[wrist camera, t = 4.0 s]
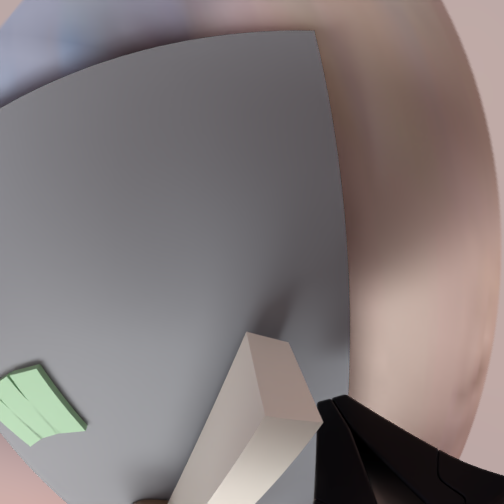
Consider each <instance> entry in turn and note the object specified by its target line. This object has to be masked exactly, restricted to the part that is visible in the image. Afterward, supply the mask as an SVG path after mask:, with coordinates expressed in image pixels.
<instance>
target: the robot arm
mask: <svg viewBox="0 0 504 504" xmlns="http://www.w3.org/2000/svg"><path fill="white" fill-rule="evenodd" d="M317 409H318V411H319V414H320V416H321V418H322V420H323V424H322V425H321V426H320V428H319V429H318V430H317V432H316V462H315V482H314V501H313V504H504V476H503V475H500V474H496V473H493V472H490V471H487V470H484V469H481V468H478V467H476V466H473V465H470V464H468V463H465V462H463V461H460V460H459V459H457V458H455V457H452V456H450V455H448V454H447V453H445V452H443V451H441V450H438V449H437V448H435V447H433V446H432V445H430V444H428V443H426V442H424V441H423V440H421V439H419V438H417V437H416V436H414V435H412V434H410V433H409V432H407V431H405V430H403V429H402V428H400V427H398V426H397V425H395V424H393V423H391V422H390V421H388V420H386V419H385V418H383V417H382V416H380V415H378V414H377V413H375V412H373V411H372V410H370V409H368V408H367V407H365V406H364V405H362V404H360V403H359V402H357V401H356V400H354V399H353V398H351V397H349V396H348V395H345V394H343V395H340V396H336V397H333V398H332V399H326V400H322V401H319V402H317Z"/></svg>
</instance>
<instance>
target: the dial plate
mask: <svg viewBox="0 0 504 504" xmlns="http://www.w3.org/2000/svg"><path fill="white" fill-rule="evenodd" d="M246 332H250V333H253V334H257V335H261V336H265V337H269V338H273V339H277V340H281V341H285V342H289V345H290V347H291V349H292V351H293V354H294V356H295V358H296V361H297V363H298V365H299V368H300V370H301V372H302V374H303V377H304V379H305V381H306V384H307V386H308V388H309V391H310V393H311V395H312V398H313V400H314V402H315V404H316V407H317V402H319V401H322V400H326V399H332V398H333V397H336V396H340V395H343V394H345V395H348V389H349V361H350V303H349V273H348V254H347V239H346V225H345V214H344V203H343V193H342V184H341V175H340V167H339V160H338V152H337V145H336V138H335V132H334V125H333V119H332V113H331V107H330V102H329V96H328V91H327V86H326V81H325V76H324V71H323V66H322V62H321V57H320V53H319V48H318V44H317V40H316V36H315V32H314V31H264V32H249V33H238V34H228V35H220V36H213V37H206V38H199V39H193V40H188V41H182V42H177V43H172V44H168V45H163V46H159V47H154V48H150V49H146V50H142V51H139V52H135V53H131V54H128V55H124V56H121V57H118V58H114V59H111V60H108V61H105V62H102V63H99V64H96V65H93V66H91V67H88V68H85V69H82V70H80V71H77V72H75V73H72V74H70V75H67V76H65V77H62V78H60V79H58V80H55V81H53V82H51V83H49V84H46V85H44V86H42V87H40V88H38V89H36V90H34V91H32V92H30V93H28V94H26V95H24V96H22V97H20V98H18V99H16V100H14V101H12V102H11V103H9V104H7V105H5V106H3V107H2V108H0V433H1V434H2V435H3V437H4V438H5V439H6V440H7V442H8V443H9V444H10V445H11V446H12V448H13V449H14V450H15V451H16V452H17V454H18V455H19V456H20V457H21V458H22V459H23V460H24V461H25V463H26V464H27V465H28V466H29V467H30V468H31V469H32V470H33V471H34V472H35V473H36V474H37V475H38V476H39V477H40V478H41V479H42V480H43V481H44V482H45V483H46V484H47V485H48V486H49V487H50V488H51V489H52V490H53V491H54V492H55V493H56V494H57V495H58V496H60V497H61V498H62V499H63V500H64V501H65V502H66V503H67V504H133V503H135V502H137V501H141V500H169V499H170V497H171V495H172V493H173V491H174V489H175V487H176V485H177V483H178V481H179V479H180V477H181V475H182V473H183V470H184V468H185V466H186V464H187V462H188V460H189V458H190V456H191V454H192V451H193V449H194V447H195V445H196V443H197V441H198V439H199V436H200V434H201V432H202V430H203V428H204V426H205V423H206V421H207V419H208V417H209V415H210V412H211V410H212V408H213V406H214V404H215V401H216V399H217V397H218V395H219V392H220V390H221V388H222V386H223V384H224V381H225V379H226V377H227V375H228V372H229V370H230V368H231V366H232V363H233V361H234V359H235V356H236V354H237V352H238V350H239V347H240V345H241V343H242V340H243V338H244V336H245V333H246ZM315 462H316V433H315V434H314V436H313V437H312V438H311V440H310V441H309V442H308V443H307V445H306V446H305V447H304V448H303V450H302V451H301V452H300V453H299V455H298V456H297V457H296V458H295V460H294V461H293V462H292V463H291V464H290V466H289V467H288V468H287V469H286V470H285V471H284V473H283V474H282V475H281V476H280V477H279V478H278V479H277V481H276V482H275V483H274V484H273V485H272V486H271V487H270V488H269V489H268V491H267V492H266V493H265V494H264V495H263V496H262V497H261V498H260V499H259V500H258V501H257V502H256V503H255V504H313V501H314V482H315Z"/></svg>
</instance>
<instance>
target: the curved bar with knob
mask: <svg viewBox="0 0 504 504" xmlns="http://www.w3.org/2000/svg"><path fill="white" fill-rule="evenodd" d="M322 424H323V420H322V418H321V416H320V414H319V411H318V409H317V407H316V404H315V402H314V400H313V398H312V395H311V393H310V391H309V388H308V386H307V384H306V381H305V379H304V377H303V374H302V372H301V370H300V368H299V365H298V363H297V361H296V358H295V356H294V354H293V351H292V349H291V347H290V345H289V342H285V341H281V340H277V339H273V338H269V337H265V336H261V335H257V334H253V333H250V332H246V333H245V336H244V338H243V340H242V343H241V345H240V347H239V350H238V352H237V354H236V356H235V359H234V361H233V363H232V366H231V368H230V370H229V372H228V375H227V377H226V379H225V381H224V384H223V386H222V388H221V390H220V392H219V395H218V397H217V399H216V401H215V404H214V406H213V408H212V410H211V412H210V415H209V417H208V419H207V421H206V423H205V426H204V428H203V430H202V432H201V434H200V436H199V439H198V441H197V443H196V445H195V447H194V449H193V451H192V454H191V456H190V458H189V460H188V462H187V464H186V466H185V468H184V470H183V473H182V475H181V477H180V479H179V481H178V483H177V485H176V487H175V489H174V491H173V493H172V495H171V497H170V499H169V500H141V501H137V502H135V503H133V504H255V503H256V502H257V501H258V500H259V499H260V498H261V497H262V496H263V495H264V494H265V493H266V492H267V491H268V489H269V488H270V487H271V486H272V485H273V484H274V483H275V482H276V481H277V479H278V478H279V477H280V476H281V475H282V474H283V473H284V471H285V470H286V469H287V468H288V467H289V466H290V464H291V463H292V462H293V461H294V460H295V458H296V457H297V456H298V455H299V453H300V452H301V451H302V450H303V448H304V447H305V446H306V445H307V443H308V442H309V441H310V440H311V438H312V437H313V436H314V434H315V433H316V432H317V430H318V429H319V428H320V426H321V425H322Z"/></svg>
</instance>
